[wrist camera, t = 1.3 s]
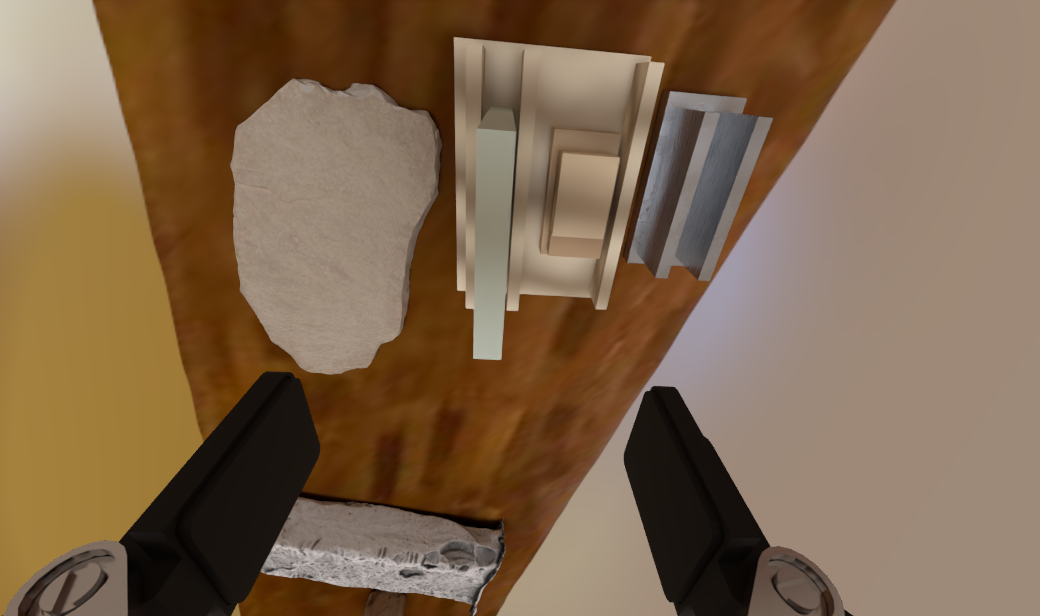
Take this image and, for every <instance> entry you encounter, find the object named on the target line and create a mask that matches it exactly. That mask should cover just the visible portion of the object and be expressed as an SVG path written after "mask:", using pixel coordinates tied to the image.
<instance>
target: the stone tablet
mask: <svg viewBox="0 0 1040 616" xmlns="http://www.w3.org/2000/svg"><path fill="white" fill-rule="evenodd" d="M441 148H442V143H441V139H440V135H439V130H438V129H437V127H436V125H435V123H434V121H433V120H432V118H431V117H430V115H429V112H428V111H425V110H408V109H405V108H402V107H399V106H398V105H397V103H396V102H395V101H394V100H393V99H392V98H391V97H390V96H389V95H388V94H386V93H385V92H384V91H383V90H381V89H379V88H378V87H376V86H374V85H368V84H359V83H355V84H352V86H351V87H350V88H349V89H347V90H345V91H333V90H331V89H329V88H327V87H323V86H322V85H321V84H320V83H319V82H317V81H314V80H309V79H298V80H297V79H292V80H291V81H289V82H288V83H287V84H286V85H285V86H283V87H282V88H281V89H280V90H279V91H278V92H277V93H276V94H275V95H274V96H273V97H272V98H271V99H270V100H269V101H268V102H266V103H265V104H264V105H263V106H261V107H260V108H259V109H258V110H257V111H256V112H255V113H254V114H253V115H252V116H250V117H249V118H248V119H247V120H246V121H244V122H243V123H241V124H240V125H239V126H237V129H236V131H235V138H234V152H233V157H232V162H231V164H230V167H231V169H232V171H233V176H234V181H235V194H234V208H233V213H234V218H233V223H234V230H233V236H234V245H235V252H236V258H237V262H238V273H239V278H240V283H241V285H240V291H241V293H242V294H243V295H244V297H245V298H246V300H247V301H248V303H249V304H250V306H251V307H252V309H253V310H254V311H255V313H256V315H257V317H258V318H259V320H260V323H261V324H262V325H263V326H264V328H265V330H266V332H267V334H268V335H269V338H270V340H271V341H272V342H273V343H275V344H277V345H278V346H280V347H281V348H283V349H284V350H285V351H286V352H288V353H289V354H290V355H291V356H292V357H293V358H294V360H295V361H296V362H297V364H298V365H299V366H300V367H301V368H302V369H304V370H306V371H309V372H314V373H324V374H341V373H343V372H344V371H348V370H351V369H356V368H364V367H366V368H367V367H368V366H369V365H370V364H371V362H372V361H373V359H374V357H375V355H376V352H377V350H378V348H379V347H380V345H381V344H383V343H386V342H389V341H392V340H393V339H394V338H395V337H396V336H398V335H399V334H400V333H401V330H402V328H403V324H404V318H405V315H406V313H407V310H408V309H407V305H408V299H409V293H410V290H409V284H410V281H409V275H410V271H409V269H410V268H411V266H412V264H411V261H412V259H413V253H414V249H415V244H416V240H417V236H418V233H419V231H420V229H421V227H422V225H423V222H424V219H425V217H426V215H427V214H428V211H429V210H430V208H431V206H432V205H433V203H434V201H435V199H436V197H437V196H438V194H439V193H438V181H439V171H440V166H441V164H440V159H439V155H440V151H441Z"/></svg>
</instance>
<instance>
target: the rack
mask: <svg viewBox="0 0 1040 616" xmlns="http://www.w3.org/2000/svg"><path fill="white" fill-rule="evenodd" d="M650 60H651V56H642V55H631V54H621V53H611V52H601V51H590V50H580V49H570V48H560V47H550V46H539V45H529V44H519V43H509V42H498V41H488V40H478V39H468V38H458V37H454V81H455V155H456V228H457V290H459V291H466V308H470V309H474V276H475V205H476V133H477V127H478V125H479V124H480V122H481V121H482V119H483V118H484V116H485V115H486V113H487V112H488V110H489V109H490V107H491V106H492V107H504V108H512V110H513V116H514V122H515V128H516V139H515V155H514V170H513V186H512V201H511V216H510V232H509V247H508V262H507V278H506V293H507V310H509V311H518V305H519V294H534V295H553V296H571V297H590V298H592V301H593V303H594V306H595V309H604V310H606V309H607V305H608V300H609V296H610V292H611V288H612V283H613V279H614V275H615V271H616V267H617V262H618V258H619V254H620V250H621V245H622V241H623V237H624V233H625V229H626V224H627V220H628V216H629V212H630V207H631V203H632V199H633V195H634V190H635V186H636V182H637V178H638V174H639V169H640V165H641V161H642V157H643V152H644V148H645V144H646V140H647V136H648V131H649V127H650V123H651V119H652V114H653V110H654V106H655V102H656V98H657V93H658V89H659V85H660V81H661V76H662V72H663V68H664V64H665V63H658V62H650ZM553 126H554V127H566V128H578V129H590V130H602V131H614V132H618V133H620V134H621V136H620V141H619V146H618V151H617V156H618V157H620V163H619V168H618V173H617V177H616V182H615V187H614V192H613V197H612V202H611V206H610V211H609V216H608V221H607V226H606V230H605V235H604V240H603V245H602V250H601V255H600V259H594V258H578V257H561V256H548V254H540V249H539V244H540V235H541V226H542V217H543V208H544V199H545V190H546V181H547V172H548V163H549V154H550V145H551V136H552V127H553Z"/></svg>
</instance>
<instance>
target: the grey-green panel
mask: <svg viewBox="0 0 1040 616" xmlns="http://www.w3.org/2000/svg"><path fill="white" fill-rule="evenodd" d="M515 139H516V128H515V122H514V116H513V110H512V108H504V107H492V106H491V107H490V109H489V110H488V112H487V113H486V115H485V116H484V118H483V119H482V121H481V122H480V124H479V125H478V127H477V133H476V205H475V276H474V348H473V359H492V360H501V354H502V339H503V324H504V308H505V293H506V278H507V262H508V247H509V232H510V216H511V201H512V186H513V170H514V155H515Z"/></svg>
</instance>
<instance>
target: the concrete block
mask: <svg viewBox="0 0 1040 616" xmlns="http://www.w3.org/2000/svg"><path fill="white" fill-rule="evenodd" d="M503 521H504V518H503ZM503 539H504V529H503V522H502V521H501V522H500V523H499V524H498V527H497V528H496V530H493V529H487V528H482V529H481V528H476V527H474V528H473V527H466V526H463V525H460V524H459V523H456V522H453V521H451V520H449V519H444V518H441V517H435V516H429V515H428V516H426V515H422V514H416V513H413V512H408V511H404V510H400V509H399V508H390V507H386V506H383V505H378V506H376V505H373V504H368V503H357V502H346V503H344V502H327V501H316V500H312V499H308V498H303V497H298V499H297V501H296V503H295V505H294V507H293V509H292V511H291V512H290V514H289V516H288V518H287V520H286V522H285V524H284V526H283V528H282V530H281V532H280V534H279V536H278V538H277V540H276V542H275V544H274V546H273V548H272V550H271V552H270V554H269V556H268V558H267V560H266V562H265V563H264V565H263V567H262V569H261V571H260V572H263V573H266V574H271V575H276V576H285V577H290V578H293V577H295V578H296V577H303V578H307V579H311V580H314V581H323V582H326V583H330V584H334V585H338V586H344V587H365V588H367V587H369V588H375V589H379V590H386V591H389V592H399V593H421V594H425V595H431V596H435V597H439V598H448V599H454V600H456V601H462V602H466V603H469V604H472V607H471V609H470V611H469V612H471V616H474V614H475V613H476V611H477V603H478V601H479V599H480V596H481V593H482V591H483V588H484V587H485V586H486V584H488V582H489V581H491V580H492V579H493V577H494V576H495V574H496V573H497V571H498V569H499V567H500V564H501V562H502V559H503V557H504V556H503V555H504V553H505V548H506V547H505V546H506V544H504V541H503Z"/></svg>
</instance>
